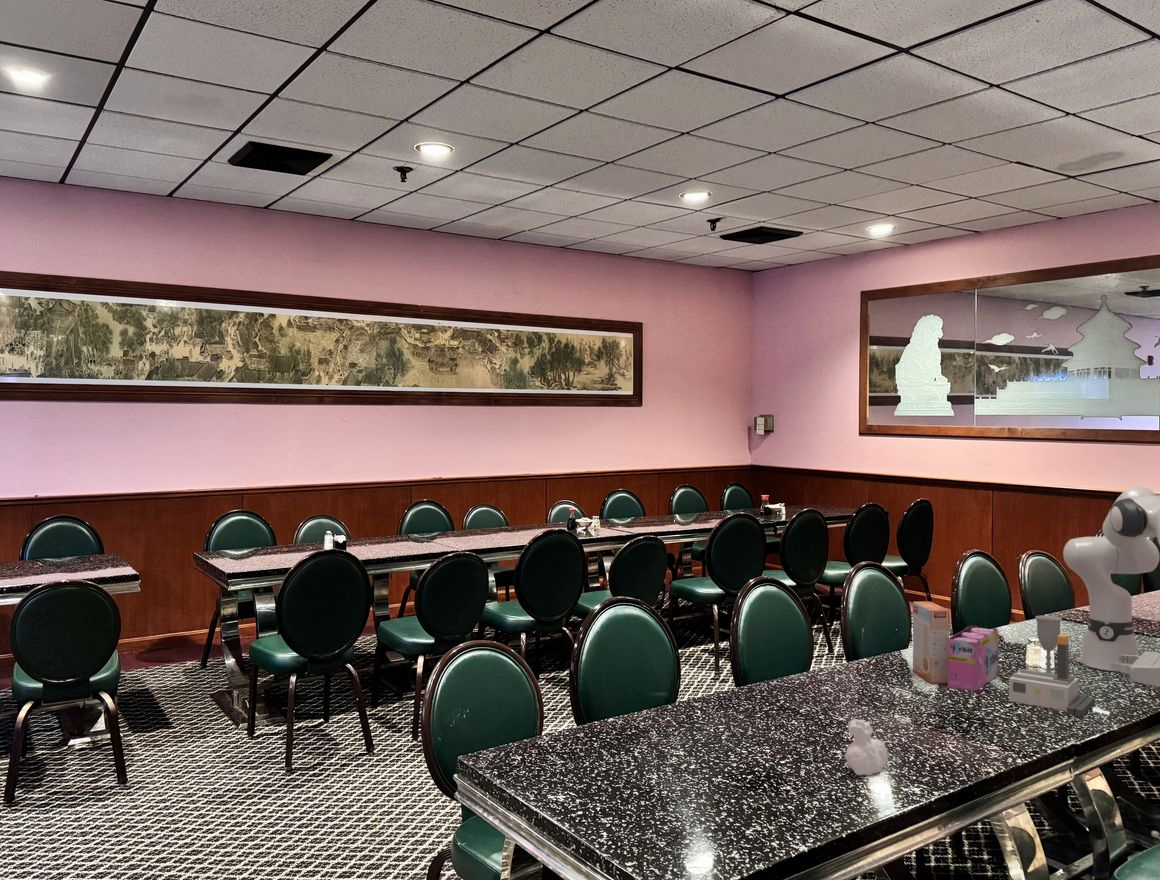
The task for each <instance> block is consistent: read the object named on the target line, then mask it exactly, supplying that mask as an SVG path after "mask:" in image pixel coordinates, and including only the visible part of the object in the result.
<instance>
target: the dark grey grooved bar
mask: <svg viewBox="0 0 1160 880" xmlns="http://www.w3.org/2000/svg"><path fill="white" fill-rule="evenodd" d="M1095 700H1096V699H1095V697H1092V696H1089V694H1086V693H1081V694H1080V695H1078V698H1077V699H1076V700H1075V701H1074V702H1072V703H1071V704H1070V705H1069V706H1068V707H1067V711H1066V714H1067V715H1071V716H1076V717H1080V718H1081V717H1084V715H1085V714H1086V713H1087V712H1088V711H1089V710H1090V709H1092V707H1093V706H1094V705H1095V704H1096V703H1095Z"/></svg>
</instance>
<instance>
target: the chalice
mask: <svg viewBox="0 0 1160 880" xmlns="http://www.w3.org/2000/svg"><path fill="white" fill-rule="evenodd" d="M1035 620H1036V635H1037V639H1038V641H1039V644H1040V645H1041V647H1042V649H1043V650H1045V651H1046V656H1045V659H1046V663H1045V666H1046V670H1045V671H1044V672H1045V673H1051V674H1055V673H1054V672H1052V670H1051V666H1053V664H1052V662H1051V659H1052V656H1051V653H1052V651H1055V649H1056V648H1057V636H1058V635H1060V634H1061V622H1062V621H1063V618H1062V617H1060V616H1055V615H1036V616H1035Z"/></svg>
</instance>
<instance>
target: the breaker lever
mask: <svg viewBox="0 0 1160 880" xmlns="http://www.w3.org/2000/svg"><path fill="white" fill-rule="evenodd" d="M1069 642H1070V639H1069V635H1068V634H1061V633H1060V635H1058V636H1057V645H1056V649H1057V650H1056V656H1057V657H1056V662H1057V663H1056V665H1057V666H1056V668H1057V669H1056V671H1057V672H1056V673H1057V675H1056V676H1055V677H1054V678H1053V679H1054V680H1061V681H1067V682H1069V683H1071V682H1072V681H1073V677H1074V676H1071V675H1069V673H1070V671H1069V670H1070V667H1069V662H1070V660H1069V657H1070V656H1069V655H1070V651H1069V650H1070V648H1069V646H1070V643H1069Z"/></svg>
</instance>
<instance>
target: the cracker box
mask: <svg viewBox="0 0 1160 880" xmlns="http://www.w3.org/2000/svg"><path fill="white" fill-rule="evenodd" d="M912 606H913V607H912V616H913V617H912V618H913V619H912V672H913V673H915V674H917V675H918V676H919V677H921V678H922V679H924V680H925V681H926V682H927V683H929V684H945V685H946V684H948V638H950V631H951V630H950V628H951V627H950V625H951V624H950V622H951V620H950V619H951V618H950V616H951V615H950V614H951V612H950V611H951V610H949V609H947V608H946V607H944V606H941V605H939V604H936V603H934V602H933V601H913V602H912Z"/></svg>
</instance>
